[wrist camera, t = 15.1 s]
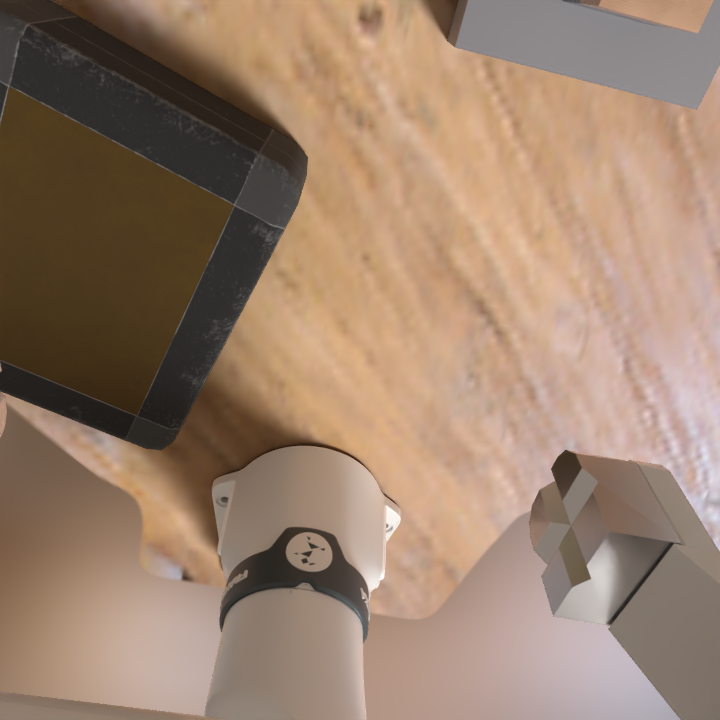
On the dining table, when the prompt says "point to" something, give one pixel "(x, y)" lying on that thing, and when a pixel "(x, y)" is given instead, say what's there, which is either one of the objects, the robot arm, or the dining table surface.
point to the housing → (655, 11)
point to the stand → (594, 46)
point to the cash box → (124, 224)
